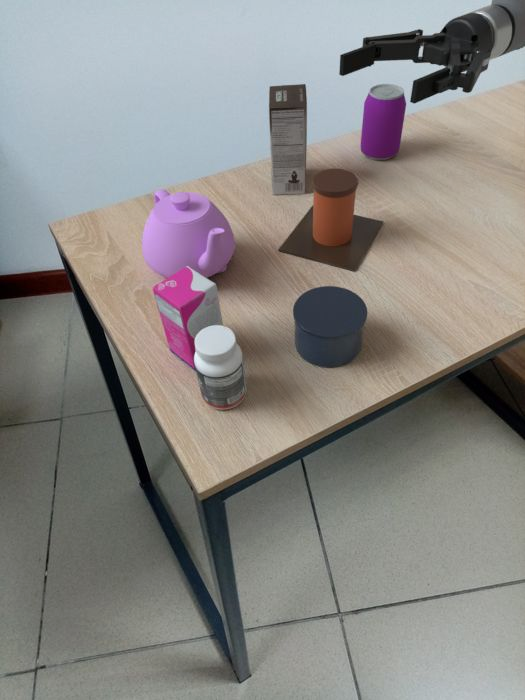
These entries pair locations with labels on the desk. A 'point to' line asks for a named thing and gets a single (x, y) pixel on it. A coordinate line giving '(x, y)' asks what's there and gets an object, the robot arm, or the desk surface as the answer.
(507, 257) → the desk surface
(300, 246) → the plate
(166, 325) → the supplement box
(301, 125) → the coffee box
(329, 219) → the canister
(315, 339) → the tin
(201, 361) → the pill bottle
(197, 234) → the teapot
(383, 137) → the beverage can
